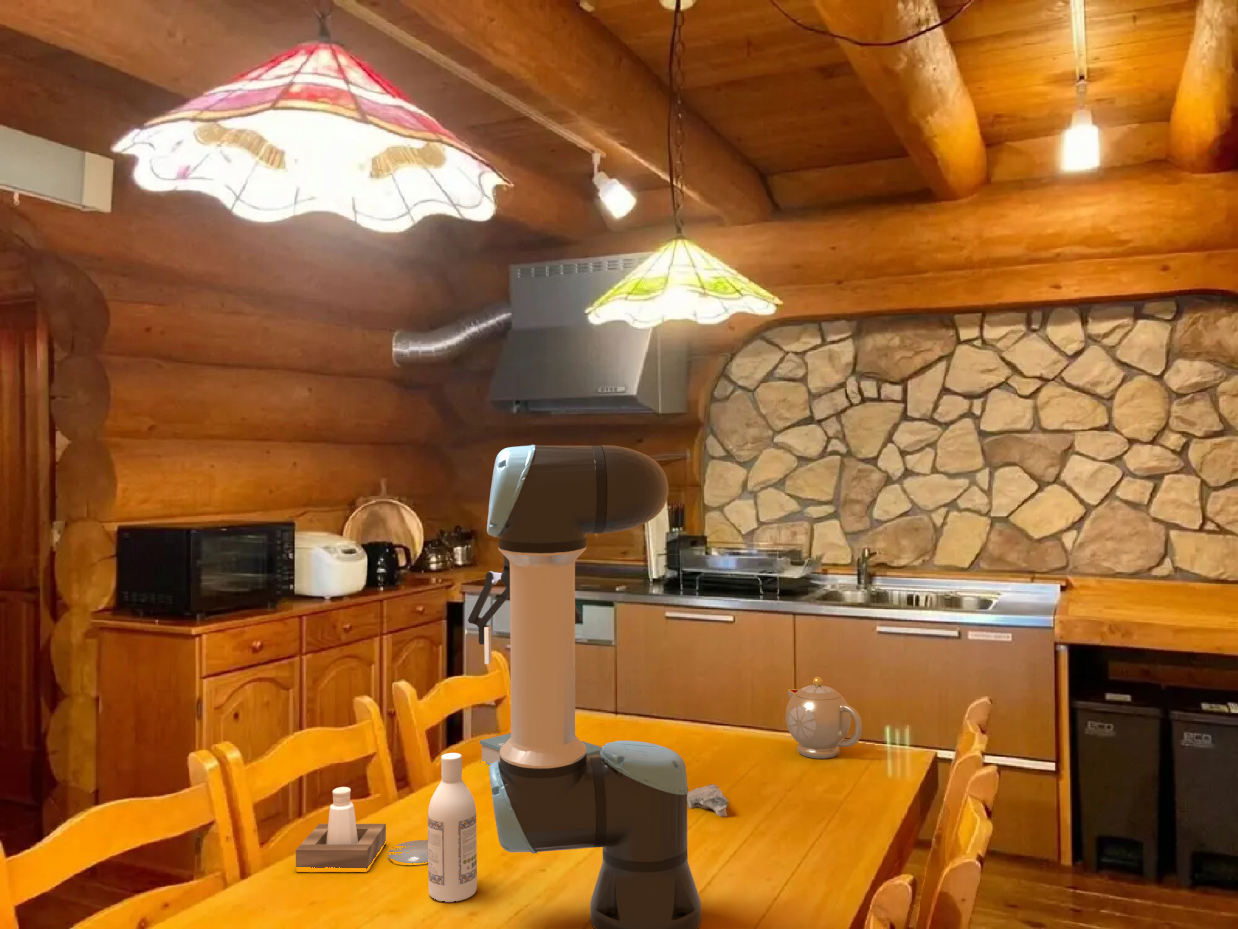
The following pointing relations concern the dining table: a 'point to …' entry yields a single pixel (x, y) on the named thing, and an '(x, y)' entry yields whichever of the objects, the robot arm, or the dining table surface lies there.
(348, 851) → the socket block
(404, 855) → the coaster
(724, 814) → the stone
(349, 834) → the salt shaker
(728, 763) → the dining table surface
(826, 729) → the teapot
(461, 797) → the bath foam
